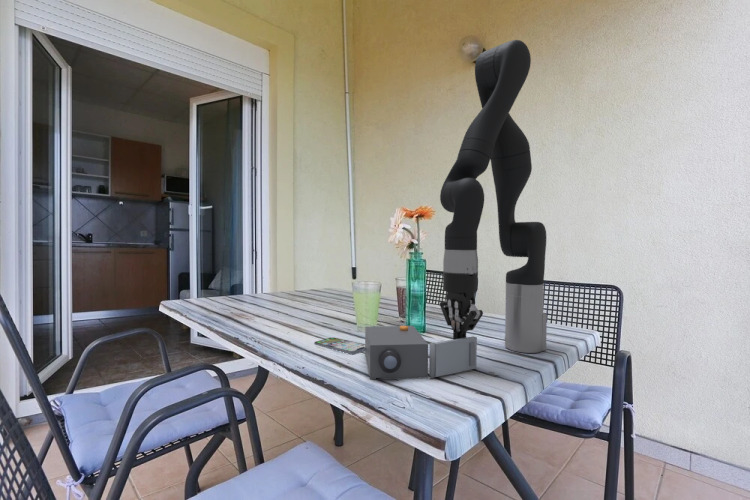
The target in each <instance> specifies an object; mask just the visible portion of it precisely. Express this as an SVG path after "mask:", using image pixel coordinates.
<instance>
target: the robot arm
mask: <svg viewBox="0 0 750 500" xmlns="http://www.w3.org/2000/svg"><path fill="white" fill-rule="evenodd" d="M531 62H532V59H531V52H530V50H529V47H528V46H527V44H526V43H525V42H524V41H522V40H520V39H514V40H509V41H506V42H503V43H501V44H500V45H499V44H498V45H496V46H494V47H492V48H489V49H487V50H484V51H483V52H481V53H480V54H479V55H478V56H477V58H476V61H475V65H474V76H475V77H474V78H475V84H476V88H477V89H476V90H477V93H478V96H479V101H480V105H481V108H482V109H480V111H479V112H478V114H477V115H476V116H475V117H474V119H473V120H472V121H471V123H470V124H469V126H468V127H467V130H466V132H465V135H464V137H463V140H462V142H461V144H460V145H461V146H460V149H459V151H458V154H457V156H456V157H457V158H456V160H455V162H454V163H453V165H452V167H451V169H450V170H449V172H448V174H447V176H446V177H445V180H444V182H443V184H442V186H441V190H440V195H439V201H440V204H441V206H442V208H443V209H444V210H445V211H446V212H449V213H453V217H452V221H451V222H450V223H449V224H447V225H446V227H445V230H444V253H443V259H442V260H443V261H442V265H443V266H442V268H443V271H442V289H443V291H444V292H446V295H445V300H444V301H440V302H439V307H440V309H441V312H442V314H443V317H444V319H445V322H446V324H447V326H450V327H451V330H452V332H453V333H452V335H453V336H452V338H453V339H452V340H454V339H460V338H467V332H468V331H474V329H475V327H476V326H477V324H478V323H479V321H480V320H481V318H482V317H483V315H484V311H483V310H482V309H478V308H477V306H476V299H475V293H477V292H478V290H479V289H478V288H479V256H478V229H479V226H480V222H481V219H482V215H483V209H484V205H485V192H484V188H483V186H482V184H481V183H480V181H478V180H477V178H478V177H479V176H480V175H482V174H483V173H485V171H486V170H487V169H488V166H489V164H490V166H491V172H492V177H493V184H494V189H495V190H494V191H495V197H496V204H497V223H498V240H499V246H500V249H501V251H502V254H503V255H504V256H506V257H511V258H527V261H526V263H525V264H524V265H522V266H521V267H517V268H515V269H512V270H509V271H507V272H506V274H505V316H504V317H505V319H504V325H505V326H504V346H505V349H508V350H511V351H513V352H517V353H518V352H519V353H525V354H528V353H529V354H536V353H541V352H543V351H547V331H548V330H547V329H548V327H547V325H548V324H547V322H548V319H547V318H548V315H547V313H545V312H544V300H545V299H544V294H545V293H544V292H545V291H544V289H545V288H544V287H545V285H544V283H545V282H544V281H545V280H544V279H545V269H546V266H545V265H546V252H547V250H546V249H547V230H546V229H547V228H546V227H545V225H544V223H542V222H540V221H522V222H521V221H520V222H519V221H518V222H517V221H516V220H515V219H516V218H515V211H516V206H517V203H518V200H519V198H520V196H521V194H522V192H523V190H524V188H525V186H526V185H527V183H528V181H529V179H530V177H531V174H532V170H533V165H532V156H531V149H530V148H531V147H530V142H529V140H528V138H527V136H526V135H525V133H524V131H523V130H522V129H521V128H520V127H519V125H518V124H517V123H516V122H515V120H514V118H512V116H511V114H510V111H511V110H512V108H513V105H514V104H515V101H516V100H517V97H518V96H519V93H520V92H521V90H522V88H523V86H524V85H525V81H526V80H527V77H528V75H529V72H530V71H531V70H530V69H531Z"/></svg>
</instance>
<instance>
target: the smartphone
mask: <svg viewBox="0 0 750 500" xmlns="http://www.w3.org/2000/svg"><path fill="white" fill-rule="evenodd" d="M314 345H315V346H320V347H323V348H325V349H329V350H332V349H333V351H336V350H337V351H336V352H339V351H341V353H343V352H344V353H343V354H346V353H348V354H347V355H351V354H352V355H356V353H357V354H359V352H360V353H362V351H363V352H365V343H362V342H361V343H360V342H357V341H352V340H348V339H342V338H338V337H328V338H323V339H321V340H317V341H314Z"/></svg>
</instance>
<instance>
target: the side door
mask: <svg viewBox="0 0 750 500" xmlns="http://www.w3.org/2000/svg"><path fill="white" fill-rule="evenodd" d="M477 349H478V338H477V337H476V336H474V335H473V336H466V338H460V339H454V340H453V339H449V340H443V341H435V342H430V343H429V357H428V378H432V379H433V378H437V377H441V376H442V377H443V376H447V375H451V374H455V373H456V374H457V373H460V372H465V371H471V370H475V369H477V368H478V367H477V363H478V362H477V360H478V359H477V357H478V355H477V353H478V352H477V351H478V350H477Z"/></svg>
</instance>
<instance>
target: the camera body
mask: <svg viewBox="0 0 750 500" xmlns="http://www.w3.org/2000/svg"><path fill="white" fill-rule="evenodd" d="M364 329H365V331H364V335H365V336H364V337H365V342H364V344H365V351H364V355H365V360H366V366H367V372H368V376H370V377H369V380H377V379H376V378H400V379H420V378H419V377H428V378H429V343H428V342H427V341H426V339H424V337H423V336H422V334H421V333H420V332H419V331H418V330H417V328H416V327H415V326H414V325H391V326H390V325H384V326H381V325H380V326H379V325H377V326H365V328H364Z"/></svg>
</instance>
